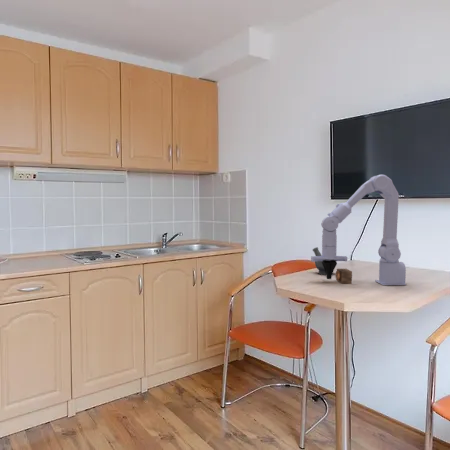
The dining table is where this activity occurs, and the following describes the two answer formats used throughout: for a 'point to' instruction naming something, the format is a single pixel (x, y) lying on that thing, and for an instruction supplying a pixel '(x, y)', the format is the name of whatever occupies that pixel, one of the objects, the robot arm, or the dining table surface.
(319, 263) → the mortar and pestle
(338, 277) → the pin
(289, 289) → the dining table surface
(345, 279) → the block
